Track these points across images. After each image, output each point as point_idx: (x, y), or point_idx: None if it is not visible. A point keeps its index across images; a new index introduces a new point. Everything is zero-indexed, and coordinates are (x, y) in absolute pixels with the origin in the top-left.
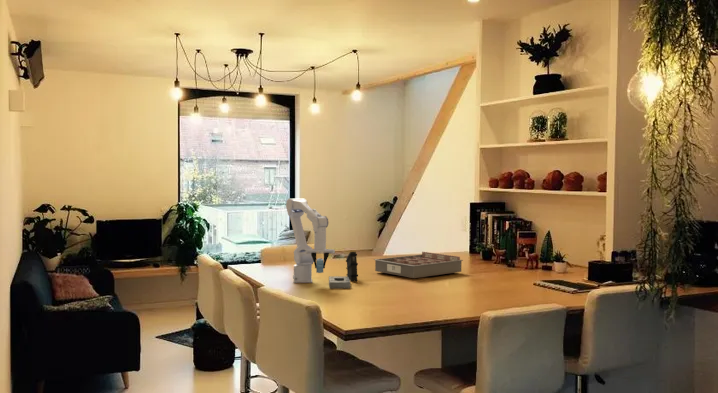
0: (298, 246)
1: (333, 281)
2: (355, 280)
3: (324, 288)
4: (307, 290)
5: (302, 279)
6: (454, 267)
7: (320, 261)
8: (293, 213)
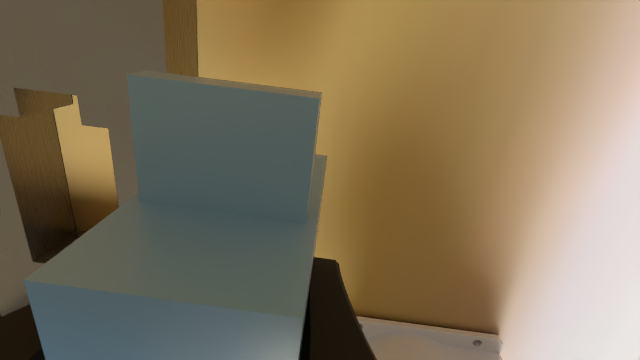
0: None
1: (116, 58)
2: None
3: (253, 15)
4: None
5: (429, 351)
6: None
7: (163, 271)
8: None
